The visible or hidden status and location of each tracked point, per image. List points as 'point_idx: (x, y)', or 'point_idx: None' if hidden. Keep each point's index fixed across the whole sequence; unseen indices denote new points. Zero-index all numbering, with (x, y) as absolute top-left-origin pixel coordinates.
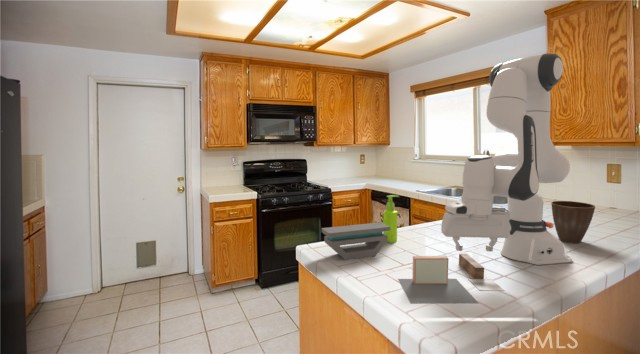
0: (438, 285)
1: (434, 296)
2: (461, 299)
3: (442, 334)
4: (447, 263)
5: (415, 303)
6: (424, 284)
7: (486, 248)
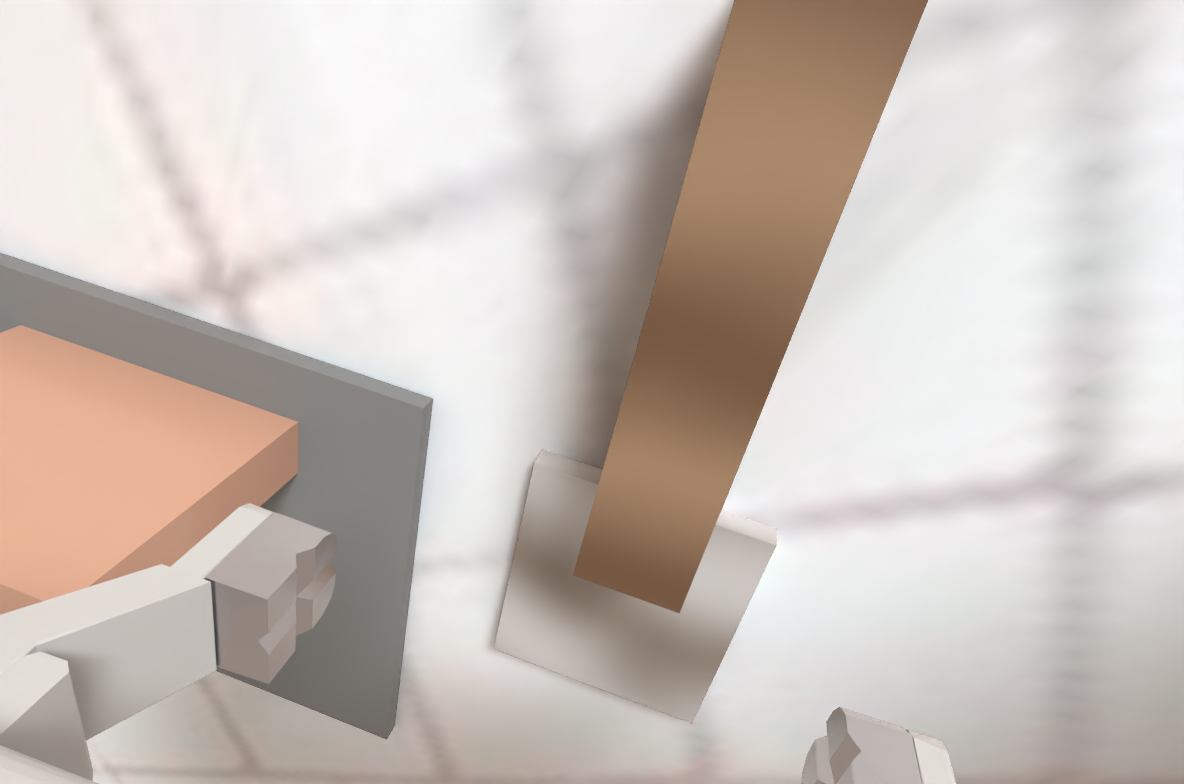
0: None
1: None
2: (302, 671)
3: (132, 780)
4: None
5: None
6: None
7: (834, 758)
